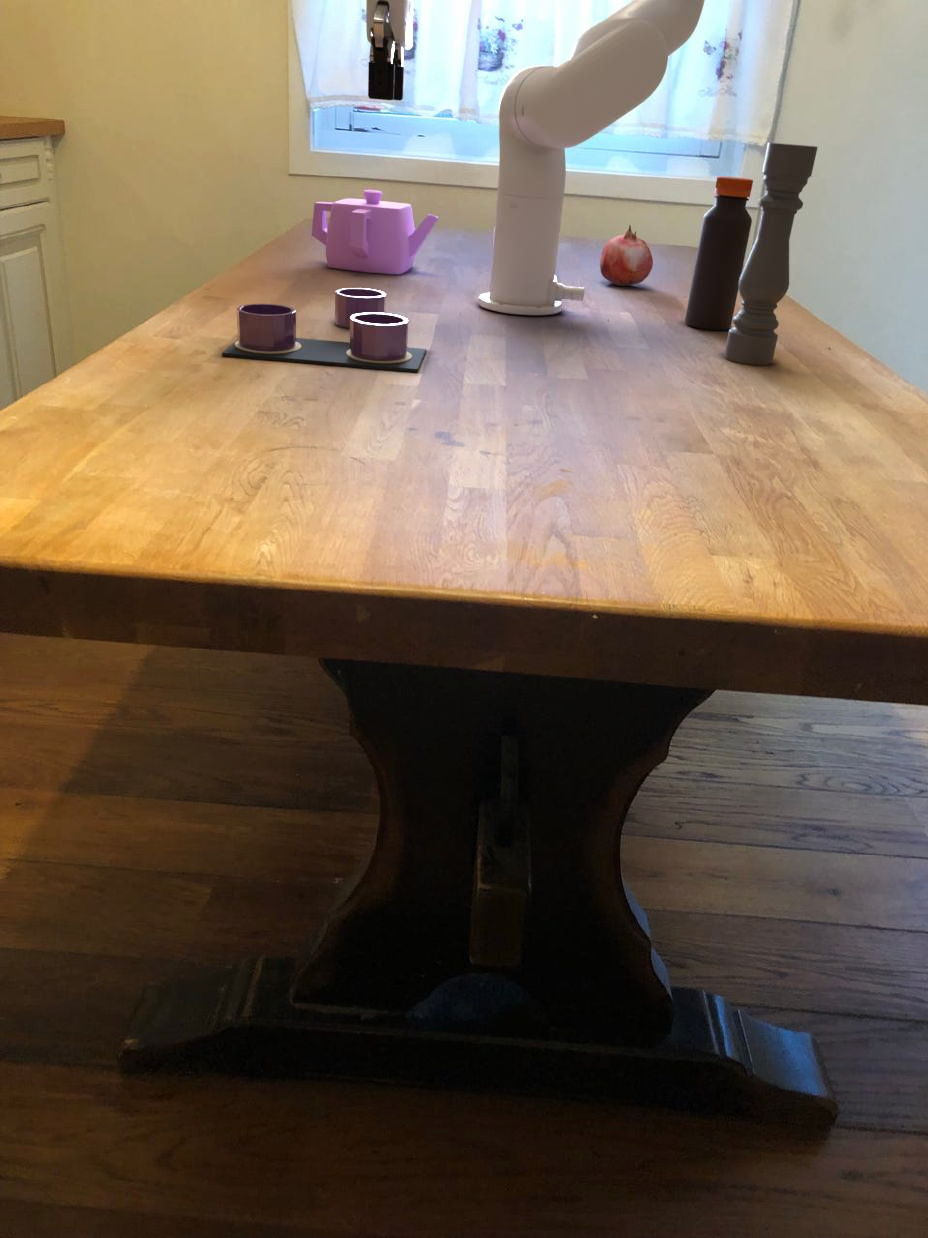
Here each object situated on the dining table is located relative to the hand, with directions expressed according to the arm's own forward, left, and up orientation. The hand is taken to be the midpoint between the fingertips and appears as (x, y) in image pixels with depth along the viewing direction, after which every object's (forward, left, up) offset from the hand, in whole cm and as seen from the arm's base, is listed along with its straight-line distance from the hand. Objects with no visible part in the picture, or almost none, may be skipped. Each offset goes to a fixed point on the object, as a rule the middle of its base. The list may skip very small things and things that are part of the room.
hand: (386, 99), depth 124 cm
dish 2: (+1, +13, -26) cm, 29 cm away
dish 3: (-4, +30, -26) cm, 40 cm away
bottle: (-48, -6, -26) cm, 55 cm away
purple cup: (+9, +30, -26) cm, 41 cm away
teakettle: (+6, -35, -26) cm, 44 cm away
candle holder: (-50, +14, -26) cm, 58 cm away
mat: (+2, +30, -26) cm, 40 cm away
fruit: (-38, -38, -26) cm, 60 cm away
